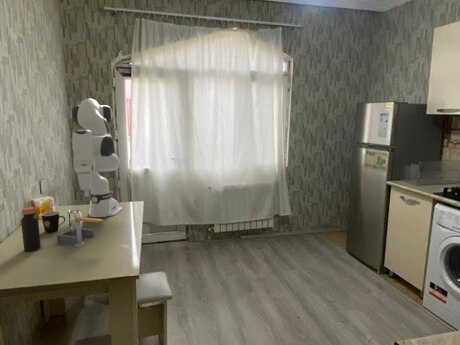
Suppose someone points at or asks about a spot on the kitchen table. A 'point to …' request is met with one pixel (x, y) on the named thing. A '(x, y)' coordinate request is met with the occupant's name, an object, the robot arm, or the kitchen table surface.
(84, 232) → the cradle
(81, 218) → the bar
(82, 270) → the kitchen table surface
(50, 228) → the coffee mug
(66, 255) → the kitchen table surface
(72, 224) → the beer glass
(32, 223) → the bottle
